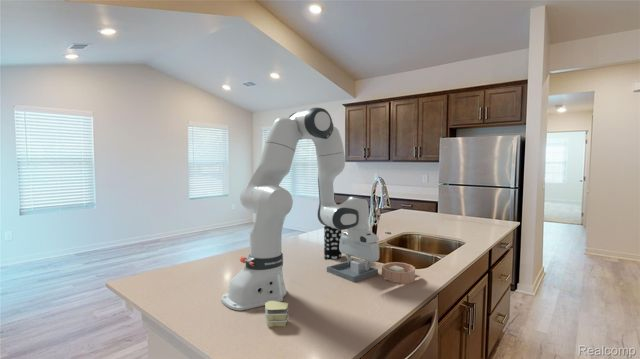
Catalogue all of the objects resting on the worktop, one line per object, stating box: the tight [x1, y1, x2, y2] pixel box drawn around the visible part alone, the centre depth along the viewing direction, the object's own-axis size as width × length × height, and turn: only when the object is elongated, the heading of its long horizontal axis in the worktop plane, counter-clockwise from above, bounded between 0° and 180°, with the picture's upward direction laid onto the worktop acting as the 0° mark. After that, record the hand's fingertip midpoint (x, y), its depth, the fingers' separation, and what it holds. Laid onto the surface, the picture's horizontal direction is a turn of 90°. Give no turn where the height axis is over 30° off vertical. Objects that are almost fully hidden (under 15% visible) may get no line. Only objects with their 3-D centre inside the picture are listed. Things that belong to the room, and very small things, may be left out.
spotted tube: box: [323, 225, 343, 261], centre depth 159 cm, size 8×8×20 cm
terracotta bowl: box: [381, 261, 416, 285], centre depth 132 cm, size 13×13×4 cm
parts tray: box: [326, 260, 379, 283], centre depth 137 cm, size 14×16×3 cm
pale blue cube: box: [351, 258, 366, 273], centre depth 139 cm, size 4×4×4 cm
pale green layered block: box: [264, 301, 289, 328], centre depth 97 cm, size 10×9×6 cm
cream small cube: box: [388, 266, 404, 272], centre depth 131 cm, size 4×4×4 cm
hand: (358, 267), depth 139 cm, fingers open, 8 cm apart
